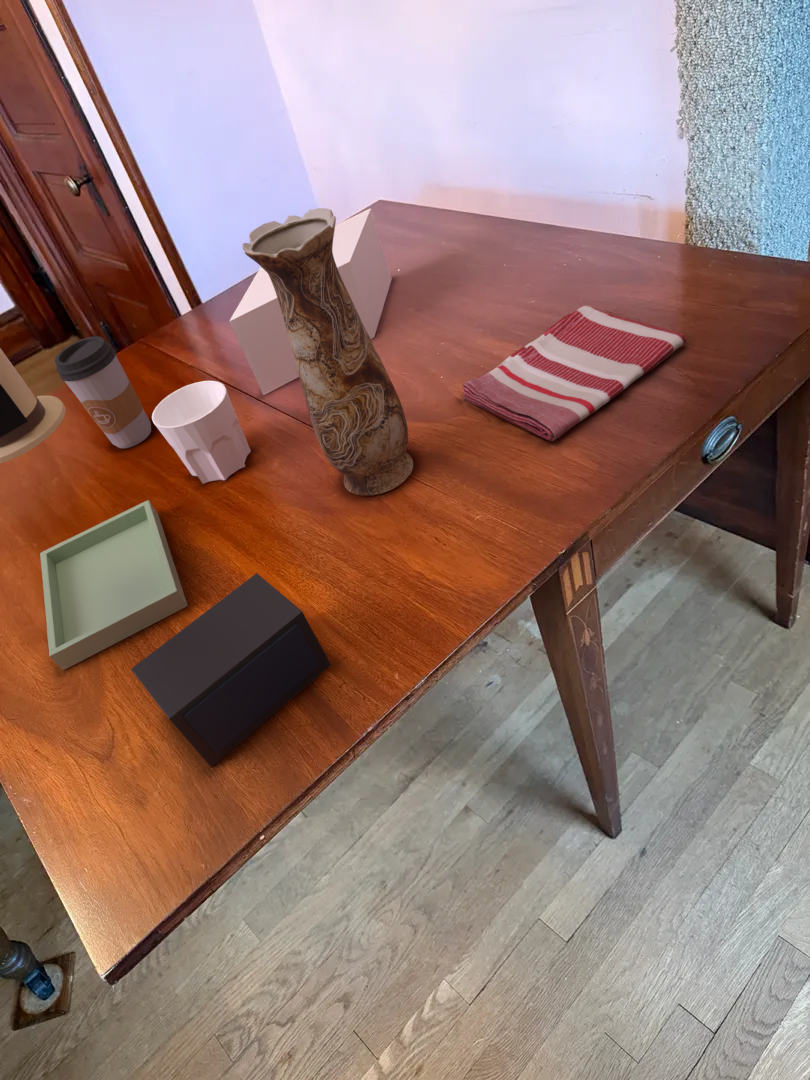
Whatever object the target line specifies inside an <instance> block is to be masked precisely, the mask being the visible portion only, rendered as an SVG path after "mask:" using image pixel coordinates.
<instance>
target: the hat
mask: <svg viewBox="0 0 810 1080" xmlns="http://www.w3.org/2000/svg"><path fill="white" fill-rule="evenodd" d="M0 384H1V385H2V387H3V388H4V389H5V391H6V392H7V393H8V395H9V396H10V397H11V399H12V400H13V401H14V403H15V404H16V405H17V407H18V408H19V409H20V411H21V412H22V413H23V415H24V416H25V417H26V419H27V420H28V422H26V423H24V424H23V425H21V426H19V427H18V428H16V429H14V430H13V431H11V432H9V433H8V434H6V435H4V436H3V437H1V438H0V464H4V463H6V462H9V461H11V460H14V459H16V458H19V457H20V456H22V455H24V454H26V453H27V452H29V451H31V450H33V449H35V448H36V447H37V446H39V445H40V444H41V443H43V442H44V441H46V439H48V438H49V437H50V436H51V435H52V434H54V432H55V431H56V430H57V429H58V428H59V426H60V425H61V423H62V422H63V421H64V418H65V416H66V406H65V405H64V403H63V401H62V400H61V399H60V398H58V397H56V396H53V395H37V396H36V395H34V393H33V392H32V390H31V389H30V388H29V386H28V385H27V383H26V382H25V381H24V379H23V377H22V376H21V374H20V373H19V372H18V371H17V369H16V367H14V365H13V364H12V362H11V361H10V360H9V358H8V357H7V356H6V354H5V352H4V351H3V350H2V348H1V347H0Z"/></svg>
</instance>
